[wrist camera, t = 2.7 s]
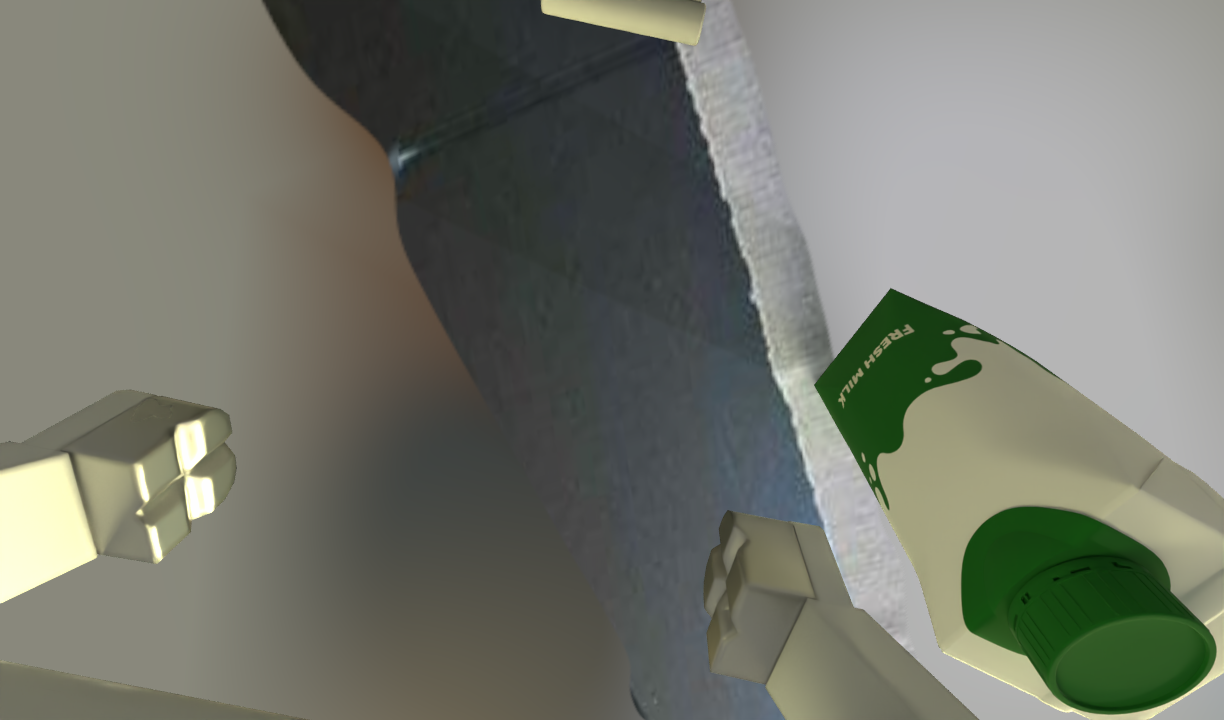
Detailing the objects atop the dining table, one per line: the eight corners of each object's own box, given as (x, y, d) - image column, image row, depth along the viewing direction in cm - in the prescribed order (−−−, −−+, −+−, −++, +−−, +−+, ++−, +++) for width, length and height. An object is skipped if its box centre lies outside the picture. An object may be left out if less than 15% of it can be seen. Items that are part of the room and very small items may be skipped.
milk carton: (887, 265, 31) (1215, 517, 13) (1018, 340, 32) (1483, 665, 14) (791, 389, 34) (940, 723, 16) (912, 453, 36) (1175, 825, 18)
